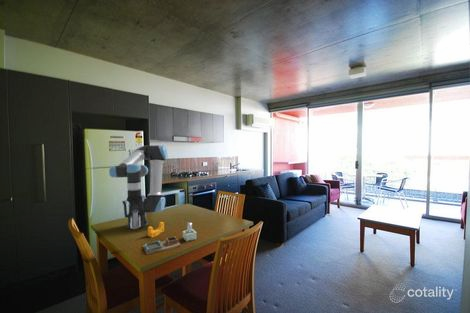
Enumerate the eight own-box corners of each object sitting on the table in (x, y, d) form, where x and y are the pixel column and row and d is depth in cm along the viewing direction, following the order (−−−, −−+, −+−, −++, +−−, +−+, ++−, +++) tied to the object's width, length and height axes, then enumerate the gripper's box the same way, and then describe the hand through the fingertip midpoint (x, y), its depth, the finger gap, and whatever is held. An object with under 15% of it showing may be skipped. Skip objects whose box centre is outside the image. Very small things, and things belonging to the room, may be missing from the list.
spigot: (131, 227, 128) (130, 210, 128) (138, 225, 131) (138, 209, 130) (132, 229, 125) (131, 211, 125) (139, 228, 127) (139, 210, 127)
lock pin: (186, 237, 141) (186, 222, 140) (190, 236, 142) (191, 221, 142) (187, 239, 138) (188, 224, 137) (192, 238, 140) (192, 223, 139)
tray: (182, 237, 141) (182, 231, 141) (192, 235, 145) (192, 229, 145) (186, 241, 135) (186, 234, 135) (196, 239, 139) (196, 232, 139)
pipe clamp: (152, 237, 142) (152, 228, 142) (148, 236, 144) (147, 227, 144) (165, 231, 153) (165, 222, 153) (161, 230, 155) (161, 221, 155)
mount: (143, 246, 128) (143, 241, 128) (175, 239, 139) (175, 234, 139) (146, 255, 118) (146, 249, 118) (181, 246, 129) (181, 240, 129)
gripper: (118, 192, 119) (120, 232, 120) (150, 188, 128) (151, 225, 129) (118, 189, 125) (119, 227, 126) (148, 186, 134) (149, 222, 136)
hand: (135, 226), depth 128 cm, fingers closed on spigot, 4 cm apart
